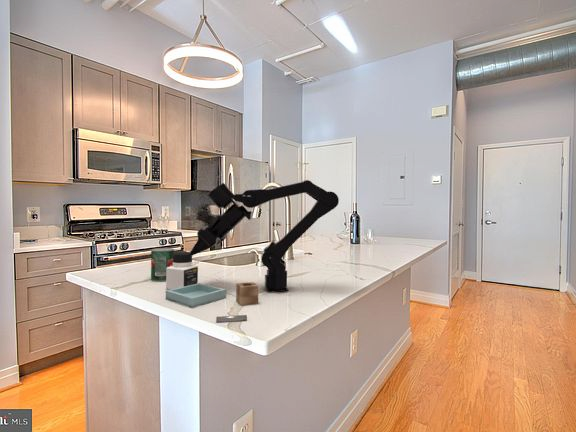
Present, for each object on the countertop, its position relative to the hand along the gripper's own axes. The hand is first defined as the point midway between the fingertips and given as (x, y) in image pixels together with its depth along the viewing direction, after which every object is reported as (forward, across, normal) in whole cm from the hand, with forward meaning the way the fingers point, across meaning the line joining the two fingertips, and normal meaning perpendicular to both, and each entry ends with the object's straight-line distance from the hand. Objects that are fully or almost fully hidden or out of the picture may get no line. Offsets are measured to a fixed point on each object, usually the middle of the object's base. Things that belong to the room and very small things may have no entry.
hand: (194, 252), depth 101 cm
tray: (+6, +12, +11) cm, 17 cm away
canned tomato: (+19, -12, -2) cm, 23 cm away
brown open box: (-5, +14, +22) cm, 26 cm away
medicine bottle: (+11, 0, +6) cm, 13 cm away
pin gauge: (-4, +29, +20) cm, 36 cm away
